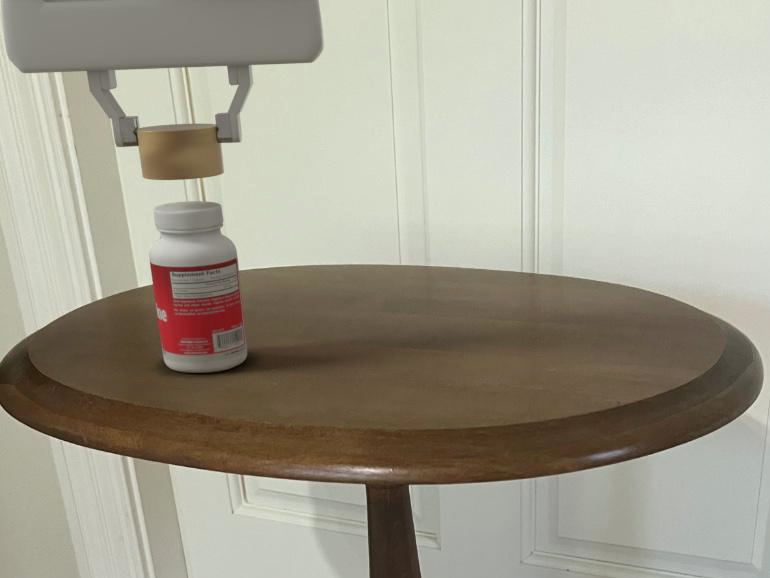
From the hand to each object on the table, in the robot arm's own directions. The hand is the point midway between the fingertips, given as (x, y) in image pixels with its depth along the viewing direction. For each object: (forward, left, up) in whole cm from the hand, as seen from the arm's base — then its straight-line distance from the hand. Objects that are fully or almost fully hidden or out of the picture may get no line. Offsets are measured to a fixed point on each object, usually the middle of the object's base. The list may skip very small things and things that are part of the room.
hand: (180, 144), depth 73 cm
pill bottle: (0, 0, -15) cm, 15 cm away
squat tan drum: (0, 0, -2) cm, 2 cm away
